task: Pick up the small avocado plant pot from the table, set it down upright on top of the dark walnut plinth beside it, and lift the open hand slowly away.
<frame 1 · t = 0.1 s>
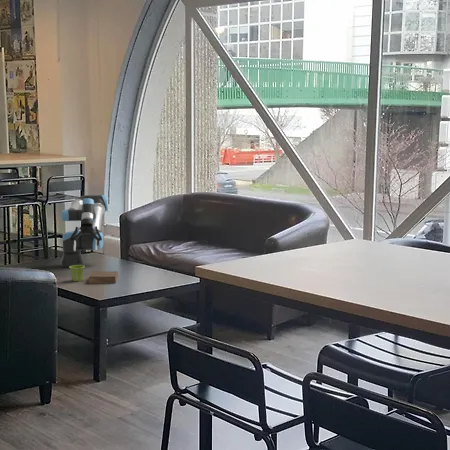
hand: (85, 250, 446), 15 cm above the table, tool tilted 35°, fingers open, 13 cm apart
walnut plinth: (103, 280, 428), on the table
plant pot: (77, 280, 429), on the table
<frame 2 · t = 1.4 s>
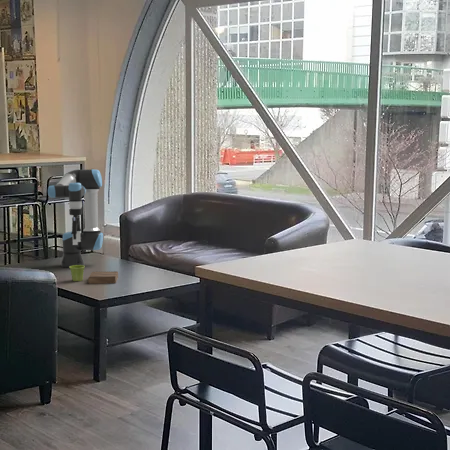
hand: (76, 243, 427), 23 cm above the table, tool pointing down, fingers open, 13 cm apart
nothing on the table moved.
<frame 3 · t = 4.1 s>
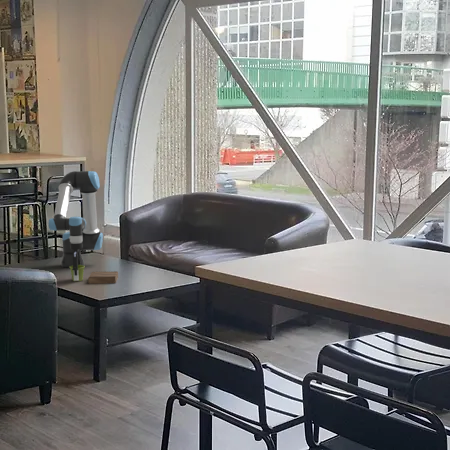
hand: (77, 278, 429), 1 cm above the table, tool pointing down, fingers closed on plant pot, 9 cm apart
plant pot: (77, 280, 429), on the table, touching gripper
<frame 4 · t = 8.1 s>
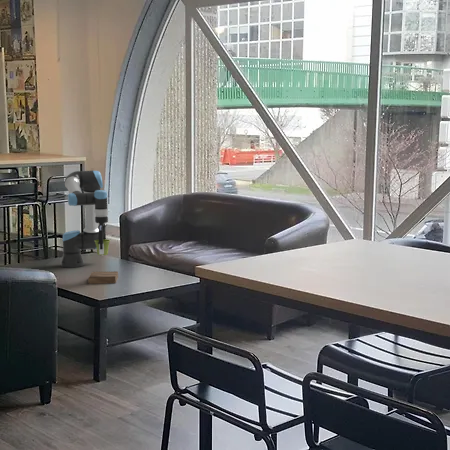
hand: (102, 253, 426), 17 cm above the table, tool pointing down, fingers closed on plant pot, 9 cm apart
plant pot: (102, 255, 426), point 16 cm above the table, touching gripper
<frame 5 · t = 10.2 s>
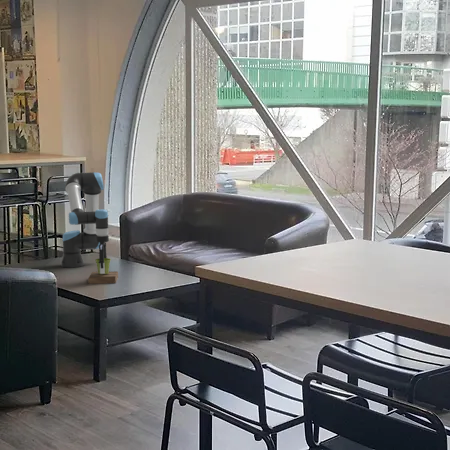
hand: (103, 271, 427), 5 cm above the table, tool pointing down, fingers closed on plant pot, 9 cm apart
plant pot: (103, 273, 428), point 4 cm above the table, touching gripper
when the fingers open (5 cm above the table, at t = 11.7 s): plant pot stays where it is, resting on walnut plinth.
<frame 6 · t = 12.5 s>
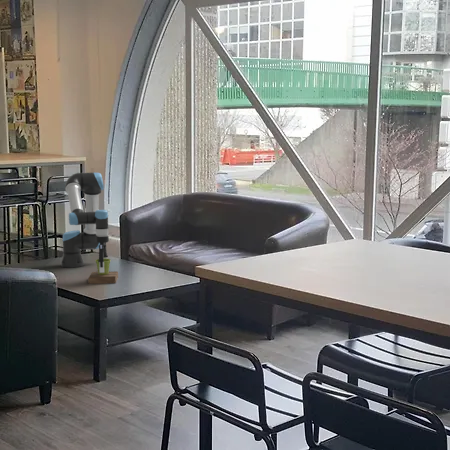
hand: (103, 270, 427), 6 cm above the table, tool pointing down, fingers open, 13 cm apart
plant pot: (103, 274, 428), point 4 cm above the table, touching walnut plinth
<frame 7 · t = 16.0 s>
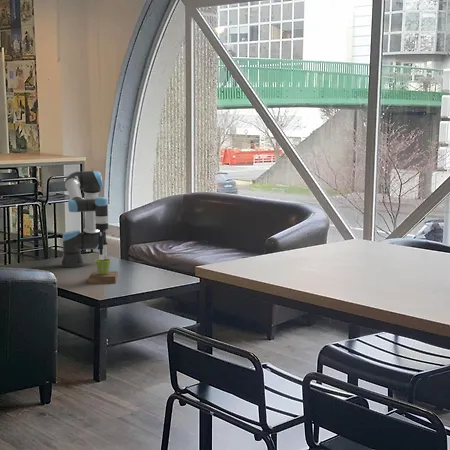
hand: (102, 257, 426), 14 cm above the table, tool pointing down, fingers open, 13 cm apart
nothing on the table moved.
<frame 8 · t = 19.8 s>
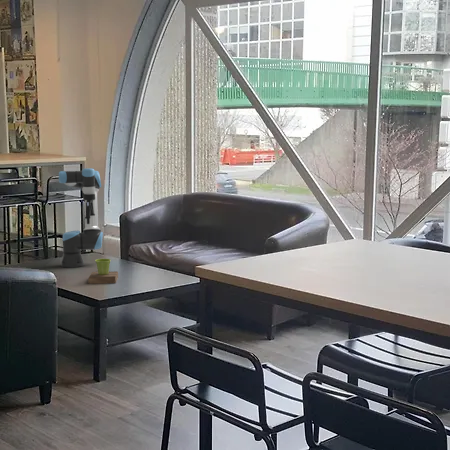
hand: (90, 227, 437), 31 cm above the table, tool pointing down, fingers open, 13 cm apart
nothing on the table moved.
at the end: plant pot inside the target area on the walnut plinth (0.2 cm from its centre), point 3.8 cm above the walnut plinth's base; plant pot tilted 0°; the gripper is holding nothing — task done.
